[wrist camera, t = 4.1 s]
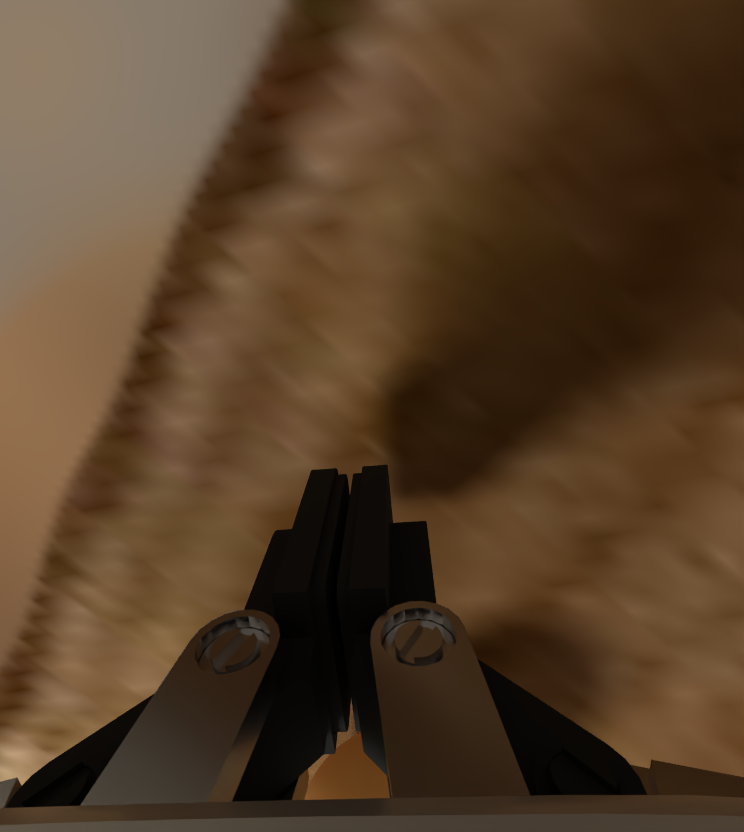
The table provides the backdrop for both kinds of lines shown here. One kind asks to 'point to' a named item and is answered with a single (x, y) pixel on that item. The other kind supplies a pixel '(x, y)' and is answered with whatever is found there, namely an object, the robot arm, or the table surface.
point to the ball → (348, 775)
